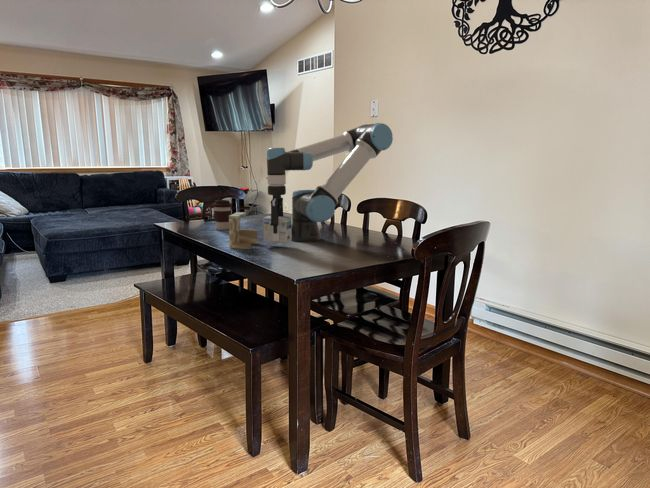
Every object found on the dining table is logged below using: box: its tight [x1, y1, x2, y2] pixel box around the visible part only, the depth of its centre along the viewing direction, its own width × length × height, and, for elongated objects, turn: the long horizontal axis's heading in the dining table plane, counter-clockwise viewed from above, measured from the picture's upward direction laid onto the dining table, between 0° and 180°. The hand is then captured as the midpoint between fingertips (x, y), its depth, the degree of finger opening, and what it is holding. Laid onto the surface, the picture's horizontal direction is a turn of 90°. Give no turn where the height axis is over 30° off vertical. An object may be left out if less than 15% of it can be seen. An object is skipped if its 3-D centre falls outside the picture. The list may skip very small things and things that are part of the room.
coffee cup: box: [211, 199, 233, 231], centre depth 236 cm, size 10×10×15 cm
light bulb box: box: [262, 215, 292, 244], centre depth 194 cm, size 11×7×11 cm, turn 76°
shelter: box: [228, 211, 259, 250], centre depth 196 cm, size 12×9×14 cm
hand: (277, 238), depth 195 cm, fingers closed on light bulb box, 7 cm apart
